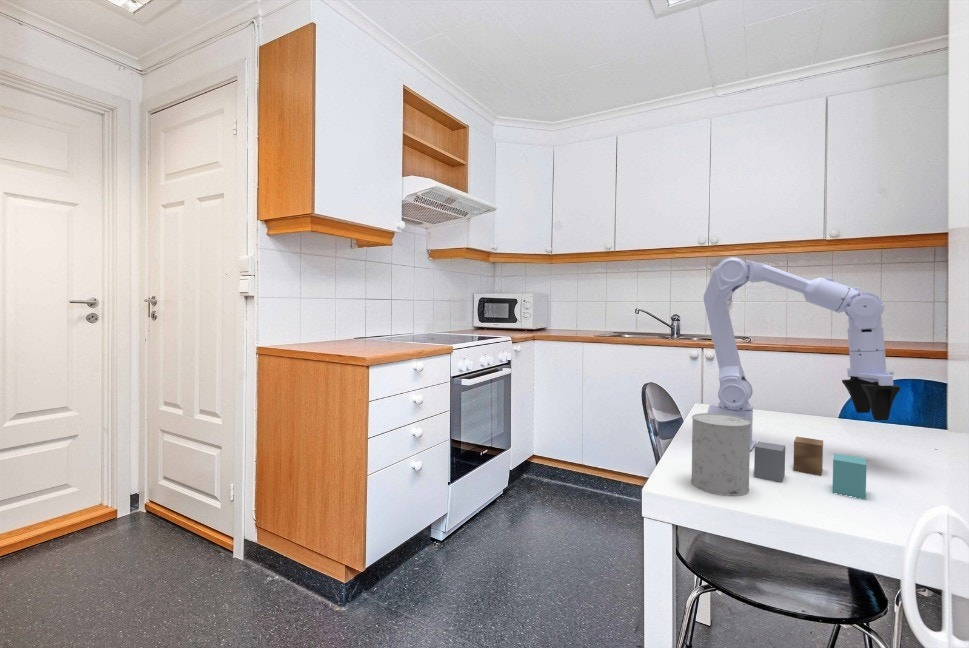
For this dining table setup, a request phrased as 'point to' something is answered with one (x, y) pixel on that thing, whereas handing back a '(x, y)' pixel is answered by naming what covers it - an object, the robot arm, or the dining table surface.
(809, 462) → the walnut block
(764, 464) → the charcoal block
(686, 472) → the dining table surface
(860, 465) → the teal block
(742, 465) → the grey concrete cylinder
